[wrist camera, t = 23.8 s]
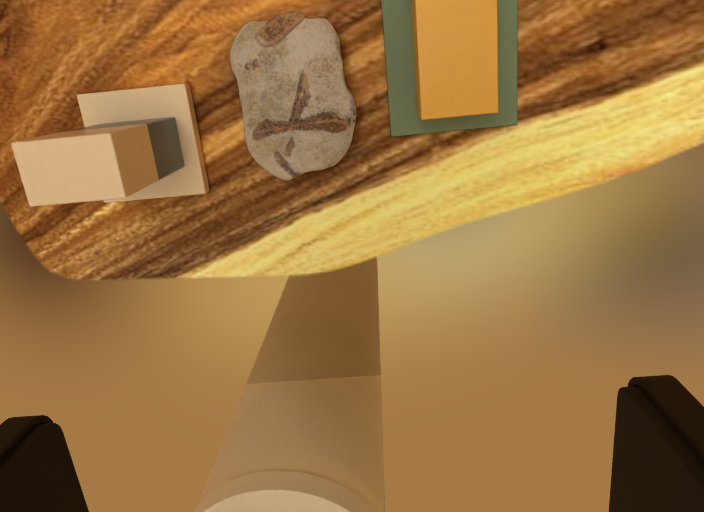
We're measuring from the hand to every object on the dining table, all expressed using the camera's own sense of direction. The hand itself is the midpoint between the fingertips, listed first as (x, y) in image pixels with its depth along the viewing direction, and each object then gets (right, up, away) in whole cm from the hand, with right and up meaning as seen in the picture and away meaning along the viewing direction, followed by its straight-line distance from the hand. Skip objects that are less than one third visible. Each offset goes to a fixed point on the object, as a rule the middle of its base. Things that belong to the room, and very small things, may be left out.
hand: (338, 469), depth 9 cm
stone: (-3, +14, +25) cm, 29 cm away
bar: (+6, +17, +23) cm, 30 cm away
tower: (-13, +11, +27) cm, 32 cm away
